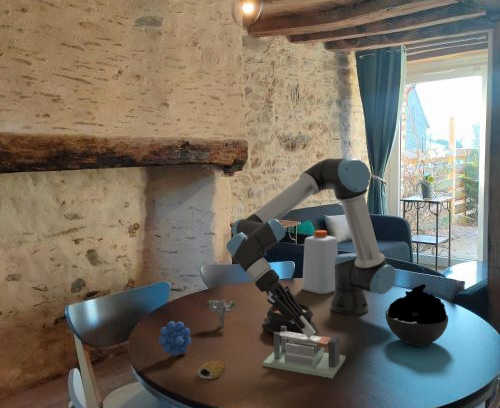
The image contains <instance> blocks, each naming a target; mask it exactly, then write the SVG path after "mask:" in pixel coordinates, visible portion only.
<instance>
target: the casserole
mask: <svg viewBox="0 0 500 408" xmlns="http://www.w3.org/2000/svg"><path fill="white" fill-rule="evenodd" d="M298 304H299V305H300V307H301V308H302V310H303V311H304V314H303V315H302V316H303V317H304V318H305V319H306V320H307V322H308V323H309V324H310V325H311V326H312V328H313V329H314V330H315V331H316V333H315V334H314V335H313V336H316V335H317V334H318V333H319V330H318V328H317V326H316V323H315V322H314V321H312V318H313V316H314V312H313V311H312V310H311V307H310V306H308V305H307V304H303V303H300V302H298ZM266 316H267V317H265V318H264V319H263V321H264V327H265V329H266V331H269V332H270V333H273V334H274V332H278V333H280V332H281V326H286V328H287V331H288V332H294V333H299V334H304V333H303V331H302V330H301V329H300V328H299V327H298V325H297V324H296V323H295V322H293V323H291V322H289V321H288V320H287V319H286V318H285V317H284V316H283V315H282V314H281V313H280V312H279V311H278V310H277V309H276V308H275V307H274V306H273V305H271V306H270V307H269V309H268V311H267V312H266Z"/></svg>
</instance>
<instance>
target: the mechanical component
mask: <svg viewBox="0 0 500 408" xmlns="http://www.w3.org/2000/svg"><path fill="white" fill-rule="evenodd" d="M206 304H207V305H206V306H208V307H209V311H210V312H211V313H217V316H218V317H219V328H220V329H223V328H224V327H225V321H224V319H225V318H224V317H225V316H226V314H225V313H228V314H229V313H231V312H232V310H233V309H234V308H235V306H236V305H235V304H236V303H235V302H233V301H230V302H229V304H227V303H226V300H224V299H222V300H219V299H210V300H208V301H207V303H206Z"/></svg>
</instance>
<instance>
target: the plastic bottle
mask: <svg viewBox="0 0 500 408" xmlns="http://www.w3.org/2000/svg"><path fill="white" fill-rule="evenodd" d="M338 250H339V249H338V241H337V238H336V237H335V236H331V235H328V231H327V230H324V229H323V230H322V229H321V230H320V229H319V230H314V231H313V235H311V236H308V237H306V238H304V247H303V267H302V282H301V283H302V286H301V287H302V289H303V291H305V292H310V293H314V294H317V295H328V294H331V293H334V292H335V266H334V265H335V258H336V256H338V255H339V251H338Z"/></svg>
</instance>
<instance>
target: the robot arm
mask: <svg viewBox="0 0 500 408" xmlns="http://www.w3.org/2000/svg"><path fill="white" fill-rule="evenodd" d="M370 181H371V173H370V169H369V167H368V165H367V164H366V163H365V162H364V161H362V160H360V159H358V158H353V157H347V158H344V157H343V158H331V157H330V158H326V159H322V160H320V161H319V162H317V163H315V164H314V165H312V166H311V167H308V168H307V169H306V170H305V171H303V172H302V173H301V174H300V175H299V178H298V179H297V180H296V181H295V182H293V183H292V184H291V185H289V186H288V187H286V188H285V189H284V190H282V191H281V192H280V193H278V194H277V195H276V196H275V197H273V198H272V199H270V200H269V201H268V202H266V203H265V204H264V205H262V206H261V207H260V208H258V209H257V210H256V211H255V212H253V213H251V214H250V215H249V216H247V217H246V218H240V219H239V218H238V219H237V220H235V221H234V223H233V224H232V227H231V232H232V235H233V236H232V237H231V238H230V239H229V240H228V241H227V243H226V245H225V247H226V249H227V251H228V253H229V254H230V256H231V257H232V258H233V260H234V261H236V263H237V264H238V265H239V267H240V268H241V269H242V270H243V271H244V272H245V273H246V275H247V277H248V278H250V280H251V281H252V282H255V283H254V285H255V286H256V288H258V290H259V291H260V292H261V293H264V292H266V295H267V296H268V298H267V303H269V304H270V305H271V306H274V307H275V308H276V309H277V310H278V311H279V312H280V313H281V314H282V315H283V316H284V317H285V318H286V319H287V320H288V321H289V322H291V323H293V322H295V323H296V324H297V325H298V327H299V328H300V329H301V330H302V331H303V333H304V334H305V335H306V336H307V338H308V339H309V338H310V337H311V336H312V335H313V336H315V335H316V334H315V333H316V331H315V330H314V329H313V328H312V326H311V325H310V324H309V323H308V322H307V320H306V319H305V318H304V317H303V316H302V315H303V314H304V311H303V310H302V308H301V307H300V305H299V304H298V303H299V302H298V301H297V299H296V298H295V296H294V295H293V293H292V291H291V289H290V288H289V286H288V285H286V286H283V285H282V283H280V282H279V279H280V275H279V274H278V273H277V271H275V269H274V268H272V266H271V265H270V263H269V262H268V261H267V260H266V259H265V257H264V256H263V255H262V254H263V253H265V252H266V251H267V250H269V249H270V248H271V247H273V246H275V245H276V244H277V243H279V242H280V241H281V240H282V239H283V238H284V237H286V230H285V227H284V225H283V224H282V223H281V222H280V220H281V219H282V218H284V217H285V216H286V215H287V214H288V213H289V212H291V211H292V210H293V209H295V208H296V207H297V206H299V205H300V204H302V203H303V202H304V201H305V200H307V199H308V198H309V197H311V196H315V195H317V194H319V193H320V192H322V191H326V190H333V192H334V196H335V199H336V200H337V201H339V202H341V204H342V205H341V206H342V210H343V212H344V217H345V220H346V223H347V227H348V231H349V234H350V237H351V242H352V244H353V248H354V251H355V252H349V253H341V254H338V256H336V258H335V265H334V266H335V291H334V292H333V296H332V299H331V302H330V310H331V311H333V312H334V313H337V314H341V315H349V316H350V315H354V316H355V315H356V316H357V315H362V314H365V313H367V312H369V303H368V300H367V296H366V293H365V291H367V292H370V293H372V294H378V295H385V294H386V293H388V292H389V291H391V289H392V288H393V286H394V284H395V281H396V277H397V276H396V275H397V274H396V269H395V268H394V267H393V266H392V265H390V264H387V261H386V256H385V255H384V253H382V252H380V250H379V245H378V242H377V238H376V234H375V232H374V227H373V226H374V225H373V223H372V219H371V216H370V212H369V209H368V204H367V200H366V197H365V196H366V194H367V192H368V187H369V185H370ZM314 334H315V335H314Z"/></svg>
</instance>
